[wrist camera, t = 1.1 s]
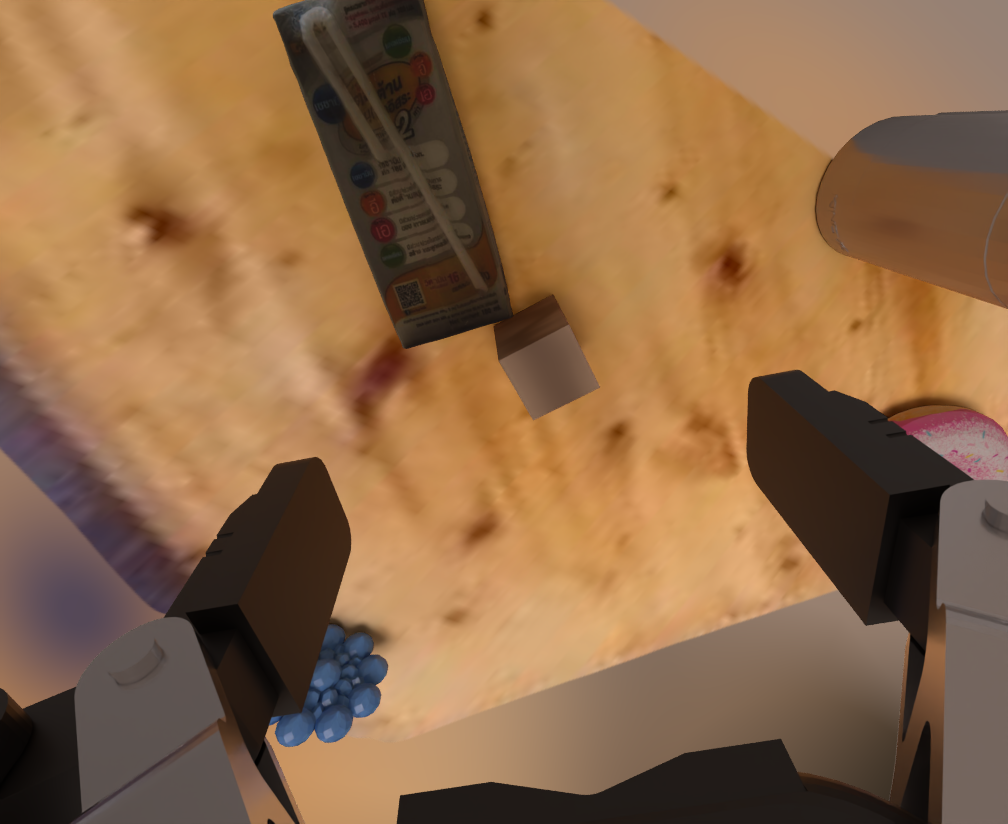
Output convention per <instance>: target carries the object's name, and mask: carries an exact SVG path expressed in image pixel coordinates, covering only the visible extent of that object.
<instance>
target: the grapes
mask: <svg viewBox="0 0 1008 824" xmlns="http://www.w3.org/2000/svg"><path fill="white" fill-rule="evenodd" d="M345 636H346V635H345V632H344V630H343V629H342V628H341V627H339V626H338V625H334V624H330V625H328V628H327V631H326V634H325V638H324V641H323V644H322V647H321V651H320V654H319V657H318V661H317V664H316V667H315V670H314V674H313V677H312V680H311V684H310V687H309V690H308V693H307V697H306V700H305V703H304V707H303V710H302V713H296V714H290V715H284V716H277V717H272V718H271V721H270V724H269V725H273V724H274V723H276V722H278V721H279V722H278V723H277V727H276V731H275V734H276V737H277V740H278V742H279V743H280V744H281V745H283V746H285V747H293V746H298V745H300V744H301V743H303V742H305V741H306V740H307V739H308V737H309V736H310V735H311V734H312V732H313V731H314V729H315V732H316V734H317V737H318V738H319V739H320V740H322V741H323V742H325V743H326V742H327V743H329V742H330V743H331V742H336V741H338V740H340V739H341V738H343V737H345V735H346V734H347V732H348V731H349V730H350V728H351V726H352V721H353V716H354V717H356V718H360V717H367V716H368V715H370V714H372V713H374V711H375V710H376V708H377V707H378V706H379V704H380V699H381V693H380V690H379V688H378V687H377V686H375V685H377V684H378V683H380V682H381V681H382V680H383V679H384V677H385V676H386V674H387V670H388V664H387V661H386V659H384V658H383V657H381V656H380V655H370V654H371V652H372V651H373V646H374V642H373V639H372V637H370V636H369V635H368V634H366V633H362V632H361V633H354V634H352V635H351V636H349V637H348V638H347V639H346V641H345ZM344 641H345V642H344Z"/></svg>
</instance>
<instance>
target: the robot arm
mask: <svg viewBox="0 0 1008 824" xmlns="http://www.w3.org/2000/svg"><path fill="white" fill-rule="evenodd" d="M816 214H817V223H818V226H819V229H820V231H821V234H822V236H823V237H824V239H825V240H826V242H827V243H828V244H829V245H830V246H831V247H832V248H834V249H835V250H836V251H837V252H840V253H842V254H845V255H847V256H850V257H853V258H856V259H859V260H862V261H865V262H868V263H871V264H874V265H877V266H879V267H882V268H885V269H888V270H891V271H894V272H897V273H900V274H903V275H906V276H909V277H912V278H915V279H919V280H922V281H925V282H928V283H931V284H934V285H937V286H940V287H943V288H946V289H949V290H952V291H955V292H958V293H961V294H964V295H967V296H970V297H973V298H976V299H979V300H982V301H985V302H988V303H991V304H994V305H997V306H1000V307H1003V308H1006V309H1008V110H1006V111H978V112H950V113H938V114H937V115H922V116H900V117H891V118H888V119H885V120H881V121H878V122H876V123H874V124H872V125H870V126H869V127H867V128H865V129H863V130H862V131H860V132H859V133H858V134H857V135H855V136H854V137H853V138H851V139H850V140H849V141H848V142H847V143H846V144H845V145H844V147H843V148H842V149H841V150H840V151H839V152H838V153H837V155H836V156H835V158H834V159H833V160H832V162H831V163H830V165H829V166H828V169H827V171H826V173H825V175H824V177H823V179H822V181H821V185H820V188H819V192H818V195H817V206H816ZM747 460H748V465H749V468H750V472H751V474H752V477H753V479H754V481H755V482H756V484H757V485H758V487H759V488H760V489H761V491H762V492H763V493H764V494H765V496H766V497H767V498H768V500H769V501H770V502H771V504H772V505H773V506H774V507H775V509H776V510H777V511H778V513H779V514H780V515H781V516H782V518H783V519H784V520H785V522H786V523H787V524H788V526H789V527H790V528H791V529H792V531H793V532H794V533H795V535H796V536H797V537H798V538H799V540H800V541H801V542H802V544H803V545H804V546H805V548H806V549H807V550H808V551H809V553H810V554H811V555H812V557H813V558H814V559H815V560H816V562H817V563H818V564H819V566H820V567H821V568H822V570H823V571H824V572H825V573H826V575H827V576H828V577H829V579H830V580H831V581H832V582H833V584H834V585H835V586H836V588H837V589H838V590H839V592H840V593H841V594H842V595H843V597H844V598H845V599H846V601H847V602H848V603H849V604H850V606H851V607H852V608H853V610H854V611H855V612H856V614H857V615H858V616H859V617H860V619H861V620H862V621H863V623H864V624H865V625H866V626H867V625H873V624H879V623H886V622H892V621H898V620H899V621H900V622H901V623H902V624H903V625H904V627H905V628H906V629H907V630H908V632H909V634H908V639H907V643H906V647H905V658H904V668H903V680H902V692H901V703H900V715H899V728H898V739H897V750H896V760H895V769H894V775H893V782H892V787H891V793H890V798H889V801H887V800H885V799H883V798H880V797H879V796H876V795H874V794H872V793H870V792H868V791H865V790H863V789H860V788H857V787H854V786H852V785H849V784H846V783H843V782H840V781H837V780H833V779H829V778H825V777H821V776H817V775H813V774H809V773H801V772H797V771H796V769H795V767H794V765H793V763H792V761H791V759H790V757H789V754H788V752H787V750H786V748H785V746H784V744H783V742H782V740H781V739H777V740H770V741H763V742H756V743H750V744H743V745H736V746H730V747H723V748H716V749H709V750H703V751H696V752H689V753H684V754H682V755H680V756H678V757H675V758H673V759H671V760H669V761H667V762H665V763H662V764H661V765H658V766H656V767H654V768H652V769H650V770H648V771H646V772H643V773H641V774H639V775H637V776H634V777H632V778H630V779H628V780H626V781H624V782H622V783H619V784H617V785H615V786H613V787H611V788H609V789H606V790H604V791H602V792H600V793H597V794H593V795H579V794H572V793H565V792H558V791H551V790H543V789H537V788H530V787H523V786H515V785H509V784H502V783H495V782H488V783H481V784H474V785H468V786H461V787H454V788H448V789H441V790H435V791H427V792H421V793H414V794H408V795H401V796H400V800H399V809H398V817H397V824H1008V481H1002V480H974V479H973V478H971V477H970V476H969V475H967V474H966V473H964V472H963V471H962V470H960V469H959V468H957V467H956V466H955V465H953V464H952V463H950V462H949V461H948V460H946V459H945V458H943V457H942V456H941V455H939V454H938V453H936V452H935V451H934V450H932V449H931V448H929V447H928V446H927V445H925V444H924V443H922V442H921V441H920V440H918V439H917V438H915V437H914V436H913V435H907V433H906V430H904V429H903V428H901V427H900V426H899V425H897V424H896V423H894V422H893V421H888V418H887V417H886V416H885V415H883V414H882V413H880V412H879V411H878V410H876V409H875V408H873V407H872V406H871V405H869V404H868V403H866V402H865V401H862V400H859V399H856V398H854V397H851V396H848V395H845V394H843V393H840V392H837V391H830V392H828V391H827V390H826V389H824V388H823V387H822V386H820V385H819V384H818V383H816V382H815V381H814V380H813V379H811V378H810V377H809V376H807V375H806V374H805V373H803V372H802V371H800V370H792V371H787V372H781V373H776V374H770V375H765V376H759V377H755V378H753V379H752V380H751V382H750V384H749V389H748V416H747ZM350 551H351V533H350V527H349V523H348V520H347V518H346V515H345V513H344V510H343V508H342V505H341V503H340V500H339V498H338V496H337V493H336V491H335V488H334V486H333V483H332V481H331V479H330V476H329V474H328V471H327V469H326V467H325V465H324V463H323V462H322V460H321V459H319V458H318V457H313V458H307V459H302V460H296V461H291V462H285V463H280V464H276V465H275V466H274V467H273V468H272V470H271V472H270V473H269V475H268V477H267V478H266V480H265V482H264V483H263V485H262V487H261V488H260V490H259V492H258V493H257V494H254V495H252V496H250V497H249V498H248V499H247V500H246V501H245V502H244V503H243V504H241V505H240V506H239V507H238V508H237V509H236V510H235V511H234V512H232V513H231V514H230V516H229V517H228V519H227V520H226V522H225V523H224V525H223V526H222V528H221V530H220V531H219V533H218V534H217V539H214V540H213V542H212V544H211V545H210V547H209V548H208V550H207V551H206V557H203V558H202V559H201V561H200V562H199V564H198V565H197V567H196V568H195V570H194V571H193V573H192V575H191V576H190V578H189V579H188V581H187V582H186V584H185V585H184V587H183V589H182V590H181V592H180V593H179V595H178V596H177V598H176V599H175V601H174V603H173V604H172V606H171V607H170V609H169V610H168V612H167V613H166V615H165V617H164V618H161V619H157V620H154V621H151V622H148V623H146V624H143V625H141V626H139V627H137V628H135V629H133V630H131V631H129V632H128V633H126V634H124V635H123V636H121V637H120V638H118V639H117V640H116V641H114V642H113V643H111V644H110V645H109V646H108V647H107V648H105V649H104V650H103V651H102V652H101V653H100V654H99V655H98V656H97V657H96V658H95V659H94V660H93V661H92V662H91V664H90V665H89V666H88V667H87V668H86V670H85V671H84V673H83V674H82V676H81V678H80V680H79V682H78V684H77V687H74V688H72V689H69V690H67V691H65V692H62V693H60V694H57V695H55V696H52V697H50V698H48V699H45V700H43V701H40V702H38V703H35V704H33V705H31V706H28V707H26V708H24V709H22V708H21V707H20V706H19V705H18V704H17V703H16V702H15V701H14V700H13V699H12V698H11V697H10V696H9V695H8V694H7V693H6V692H5V691H4V690H3V689H1V688H0V824H305V822H304V820H303V818H302V816H301V813H300V811H299V809H298V806H297V804H296V802H295V799H294V797H293V795H292V792H291V790H290V788H289V785H288V783H287V781H286V779H285V776H284V774H283V772H282V769H281V767H280V765H279V762H278V760H277V758H276V756H275V753H274V751H273V749H272V747H271V745H270V743H269V742H268V740H267V739H266V737H265V735H266V732H267V729H268V726H269V724H270V721H271V718H272V717H277V716H284V715H290V714H296V713H302V710H303V707H304V703H305V700H306V697H307V693H308V690H309V687H310V684H311V680H312V677H313V674H314V670H315V667H316V664H317V661H318V657H319V654H320V651H321V647H322V644H323V641H324V638H325V634H326V631H327V628H328V624H329V621H330V618H331V615H332V611H333V608H334V605H335V601H336V598H337V595H338V591H339V588H340V585H341V582H342V578H343V575H344V572H345V568H346V565H347V562H348V559H349V555H350Z"/></svg>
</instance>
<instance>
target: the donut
mask: <svg viewBox="0 0 1008 824" xmlns="http://www.w3.org/2000/svg"><path fill="white" fill-rule="evenodd" d="M888 421H893V422H894V423H896V424H897V425H899V426H900V427H901V428H903V429H904V430H906V433H907V435H913V436H914V437H915V438H917V439H918V440H920V441H921V442H922V443H924V444H925V445H927V446H928V447H929V448H931V449H932V450H934V451H935V452H936V453H938V454H939V455H941V456H942V457H943V458H945V459H946V460H948V461H949V462H950V463H952V464H953V465H955V466H956V467H957V468H959V469H960V470H962V471H963V472H964V473H966V474H967V475H969V476H970V477H971V478H973V479H974V480H1002V481H1008V437H1007V435H1006V433H1005V432H1004V430H1003V428H1002V427H1001V426H1000V425H999V424H997V423H996V422H995V421H994V420H993V419H991V418H989V417H987V416H985V415H983V414H980V413H978V412H976V411H974V410H972V409H968V408H963V407H958V406H945V405H929V406H923V407H917V408H912V409H909V410H907V411H904V412H901V413H898V414H896V415H894V416H892V417H890V418H888Z"/></svg>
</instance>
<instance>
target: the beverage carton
mask: <svg viewBox="0 0 1008 824" xmlns="http://www.w3.org/2000/svg"><path fill="white" fill-rule="evenodd" d="M273 18H274V20H275V22H276V24H277V27H278V30H279V32H280V35H281V38H282V40H283V43H284V46H285V49H286V52H287V54H288V57H289V61H290V65H291V67H292V69H293V72H294V74H295V76H296V78H297V80H298V83H299V86H300V89H301V92H302V94H303V97H304V100H305V102H306V105H307V108H308V110H309V113H310V115H311V118H312V120H313V123H314V125H315V127H316V130H317V132H318V135H319V138H320V140H321V143H322V146H323V149H324V151H325V153H326V156H327V158H328V161H329V164H330V167H331V170H332V172H333V174H334V177H335V179H336V182H337V185H338V187H339V190H340V192H341V195H342V198H343V200H344V203H345V206H346V208H347V211H348V213H349V216H350V218H351V221H352V224H353V226H354V229H355V231H356V234H357V236H358V239H359V241H360V244H361V246H362V249H363V251H364V254H365V257H366V259H367V262H368V264H369V266H370V269H371V271H372V274H373V277H374V279H375V282H376V284H377V287H378V289H379V292H380V294H381V297H382V299H383V302H384V305H385V307H386V309H387V311H388V313H389V316H390V318H391V321H392V323H393V325H394V328H395V330H396V333H397V335H398V336H399V339H400V341H401V343H402V346H403V348H406V349H408V348H411V347H415V346H418V345H422V344H425V343H429V342H433V341H437V340H440V339H444V338H447V337H450V336H453V335H457V334H460V333H463V332H466V331H469V330H473V329H476V328H479V327H482V326H485V325H489V324H493V323H496V322H500V321H503V320H506V319H510V318H512V317H513V312H512V308H511V305H510V298H509V294H508V289H507V284H506V280H505V276H504V272H503V267H502V263H501V260H500V256H499V252H498V248H497V245H496V241H495V237H494V233H493V230H492V226H491V222H490V219H489V215H488V212H487V208H486V205H485V201H484V198H483V194H482V191H481V188H480V184H479V180H478V177H477V173H476V170H475V166H474V163H473V160H472V156H471V153H470V150H469V147H468V143H467V140H466V137H465V134H464V131H463V127H462V124H461V121H460V118H459V115H458V112H457V109H456V106H455V103H454V100H453V97H452V94H451V91H450V87H449V84H448V81H447V78H446V75H445V72H444V69H443V66H442V62H441V59H440V56H439V53H438V50H437V47H436V44H435V42H434V40H433V37H432V34H431V31H430V27H429V22H428V17H427V13H426V9H425V4H424V0H305V1H302V2H299V3H295V4H291V5H288V6H286V7H283V8H280V9H278V10H276V11H275V12H274V13H273Z"/></svg>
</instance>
